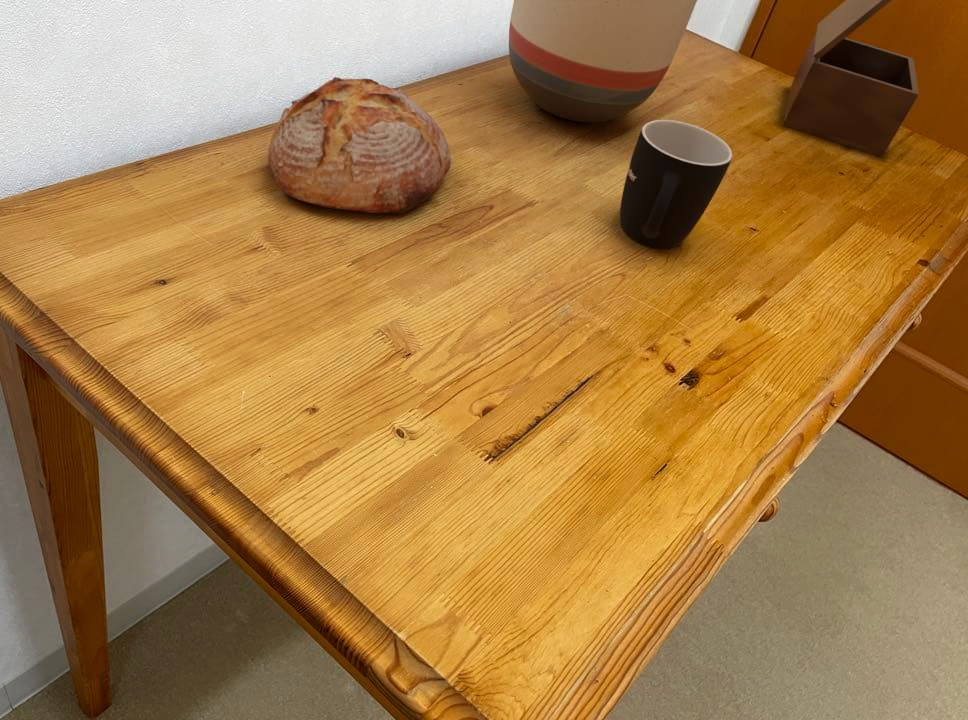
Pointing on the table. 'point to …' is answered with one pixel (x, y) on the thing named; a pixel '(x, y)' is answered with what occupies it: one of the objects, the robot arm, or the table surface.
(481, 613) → the table surface
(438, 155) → the bread
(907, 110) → the chest
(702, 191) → the mug
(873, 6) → the lid
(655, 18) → the planter
